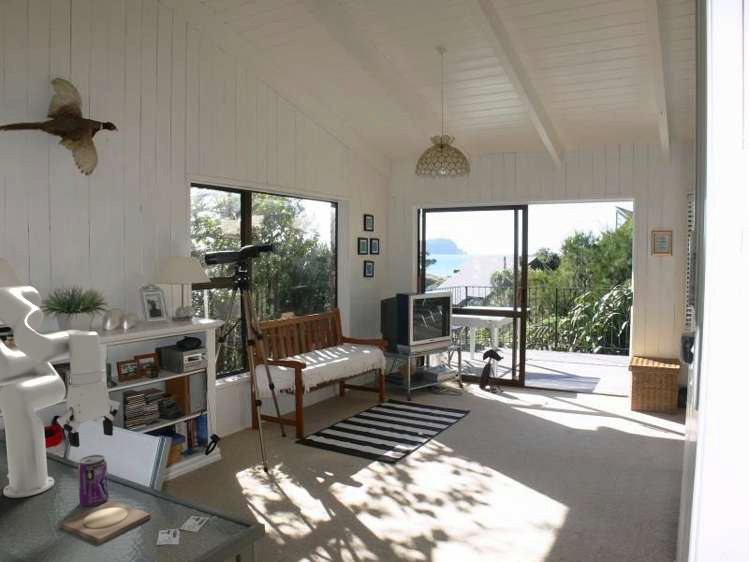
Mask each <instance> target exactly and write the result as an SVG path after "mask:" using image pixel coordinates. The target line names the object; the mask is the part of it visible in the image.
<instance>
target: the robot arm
mask: <svg viewBox="0 0 749 562" xmlns="http://www.w3.org/2000/svg"><path fill="white" fill-rule="evenodd" d="M41 303H42V298H41V295H40V293H39V292H38V290H37V289H36V288H34V287H32V286H30V285H16V286H14V285H13V286H2V287H0V325H5V326H7V327H8V328H10V329H12V330H13V340H14V342H15V345H16V347H17V349H10V348H8V346H7V345H6V344H5V343H4V341H3V340H2V339H1V338H0V387H2V386H4V387H3V388H2V389H1V391H0V411H1V414H2V419H3V424H4V431H5V444H6V455H7V468H8V469H7V470H8V472H7V475H6V477H7V478H8V482H9V484H8V485H6V486H5V487H4V488H3V495H4V497H7V498H12V499H13V498H17V499H18V498H25V497H30V496H31V497H32V496H35V495H38V494H41V493H44V492H45V491H47V490H49V489H51V488H53V486H54V484H55V479H54V478H53V477H52V476H49V475H48V463H47V461H48V460H47V451H46V437H45V426H44V423H43V421H42V419H40V418H39V416H38V415H37V414H36V412H37V411H41V410H42V409H45V408H49V407H51V406H55V405H58V404H59V403H61V402H62V401H63V400H64V398H65V396H66V392H67V396H66V411H65V412H64V413H63V414H62V415H60V416H59V417H57V419H56V422H58V424H59V426H60V427H61V428H62V429H63V430H64V431H65V432H68V441H69V442H68V443H69V445H70V447H74V448H79V447H80V445H81V444H80V433H79V432H78V429H79V427H80V425H81V424H84V423H88V422H91V421H94V420H97V419H100V418H103V419H104V420H102V429H103V435H105V436H111V437H112V436H113V435H114V432H113V431H114V425H113V421H115V416H116V415H117V414H118V410H119V408H120V407H119V406H120V405H121V403H120V402H119V401H116V400H113V399H110V395H109V390H108V386H107V383H106V380H105V379H104V375H106V374H107V370H106V369H103V366H102V364H103V363H102V353H101V340H100V339H101V338H100V335H99V333H98V332H96V331H87V330H86V331H82V330H78V329H67V330H61V331H56V332H50V333H44V334H41V333H38V332H37V330H38V329H39V328H40V327H41V325H42V324H43V321H44V312H43V310H42V309H41V308H40V307H41ZM65 359H66V360H67V359H69V367H70V368H69V369H70V377H71V381H70V382H71V385H68V387H67V388H68V389H67V390H66V385H65V382H64V380H63V378H62V376H60V374H59V373H58V372H57V371H56V369H55V368H54V366H53V365H52V364H51V363H52V362H53V363H54V362H56V361H61V360H65ZM67 421H68V422H69V423H67Z"/></svg>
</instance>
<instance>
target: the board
mask: <svg viewBox="0 0 749 562" xmlns="http://www.w3.org/2000/svg"><path fill="white" fill-rule="evenodd" d="M151 517H152V516H151V513H149V512H146V511H143V510H140V509H137V508H134V507H132V506H129V505H126V504H122V503H119V502H117V501H113V500H109V501H107V502H105V503H103V504H102V503H101V504H99V505H98V506H95V507H93V508H91V509H89V510H87V511H84V512H82V513H80V514H78V515H76V516H73V517H71V518H69V519H66V520H64V521H62V522H60V528H61V529H64V530H66V531H68V532H71V533H73V534H75V535H78V536H80V537H82V538H85V539H88V540H90V541H92V542H94V543H97V544H100V545H101V544H102V543H104V542H106V541H108V540H111V539H112V538H115V537H117V536H119V535H120V534H122V533H124V532H126V531H129V530H131V529H132V528H135V527H136V526H138V525H141V524H142V523H144V522H147V521H148V520H150V519H151Z"/></svg>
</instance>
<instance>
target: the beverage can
mask: <svg viewBox="0 0 749 562" xmlns="http://www.w3.org/2000/svg"><path fill="white" fill-rule="evenodd" d="M78 463H79V464H78V466H77V476H78V477H77V478H78V479H77V480H78V493H79V504H81V505H84V506H89V507H91V506H97V505H101V504H102V503H104V502H105V501H106V500H108V498H109V497H110V496H109V479H108V466H107V461H106V460H105V456H104V455H103V454H92V455H87V456H85V457H82V458H80V459H79V460H78Z"/></svg>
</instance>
